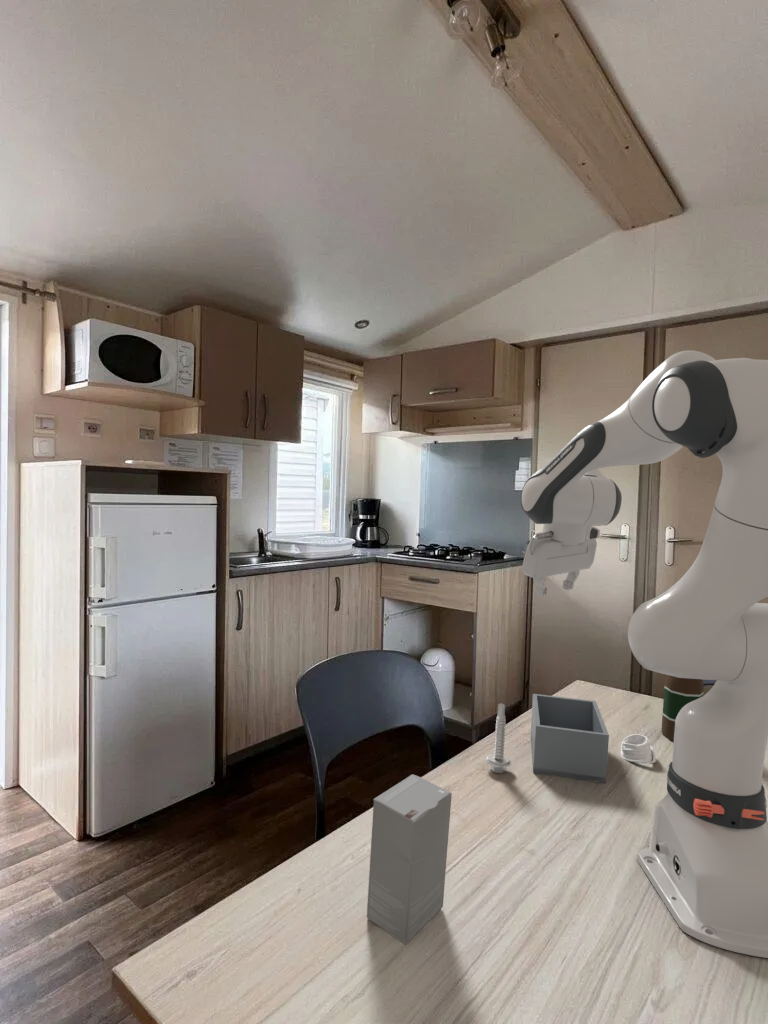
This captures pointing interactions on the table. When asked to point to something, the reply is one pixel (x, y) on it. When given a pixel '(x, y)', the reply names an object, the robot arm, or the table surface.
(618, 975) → the table surface
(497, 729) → the screw
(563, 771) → the tote
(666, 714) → the beer bottle
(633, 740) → the white crumpled ring
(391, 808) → the skincare box
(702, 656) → the robot arm
